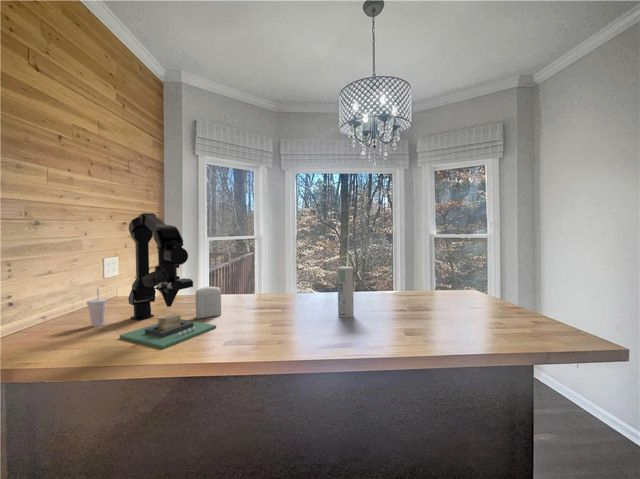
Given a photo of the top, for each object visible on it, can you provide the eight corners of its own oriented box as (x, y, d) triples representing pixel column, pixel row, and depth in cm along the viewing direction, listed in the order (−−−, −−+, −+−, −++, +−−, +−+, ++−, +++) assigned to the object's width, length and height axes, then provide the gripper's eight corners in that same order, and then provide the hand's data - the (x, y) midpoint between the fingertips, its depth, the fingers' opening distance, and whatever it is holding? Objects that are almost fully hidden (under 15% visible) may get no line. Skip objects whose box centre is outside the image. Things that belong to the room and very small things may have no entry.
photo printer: (219, 313, 139) (219, 284, 138) (222, 315, 135) (222, 286, 134) (194, 317, 133) (193, 287, 132) (197, 319, 129) (196, 289, 129)
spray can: (356, 316, 131) (356, 267, 130) (342, 318, 129) (341, 268, 128) (349, 312, 137) (349, 265, 136) (335, 314, 135) (335, 266, 134)
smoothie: (111, 323, 125) (110, 288, 124) (94, 328, 119) (92, 291, 119) (101, 321, 128) (99, 286, 127) (83, 326, 122) (82, 289, 121)
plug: (158, 331, 112) (157, 317, 112) (175, 326, 118) (174, 312, 118) (165, 333, 110) (165, 319, 110) (182, 327, 116) (182, 314, 116)
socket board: (119, 338, 109) (119, 330, 109) (175, 320, 129) (175, 314, 128) (163, 349, 99) (162, 341, 99) (216, 328, 119) (216, 321, 118)
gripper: (128, 263, 110) (130, 309, 110) (165, 266, 101) (166, 315, 102) (157, 260, 120) (159, 301, 120) (193, 262, 111) (194, 307, 112)
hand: (169, 306), depth 113 cm, fingers closed
